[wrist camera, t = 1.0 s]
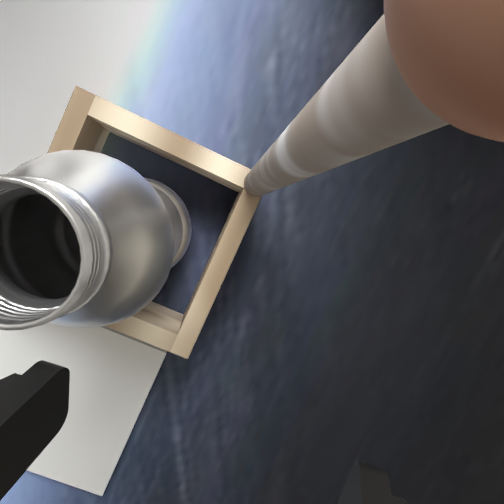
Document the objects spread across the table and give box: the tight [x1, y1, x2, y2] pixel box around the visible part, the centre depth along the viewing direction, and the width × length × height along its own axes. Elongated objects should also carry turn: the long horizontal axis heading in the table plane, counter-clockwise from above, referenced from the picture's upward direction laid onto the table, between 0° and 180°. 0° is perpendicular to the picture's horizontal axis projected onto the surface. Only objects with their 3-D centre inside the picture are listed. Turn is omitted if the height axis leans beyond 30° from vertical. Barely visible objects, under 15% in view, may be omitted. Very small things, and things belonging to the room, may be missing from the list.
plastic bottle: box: [0, 150, 192, 331], centre depth 19 cm, size 6×7×20 cm
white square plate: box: [0, 322, 167, 496], centre depth 29 cm, size 12×12×1 cm
